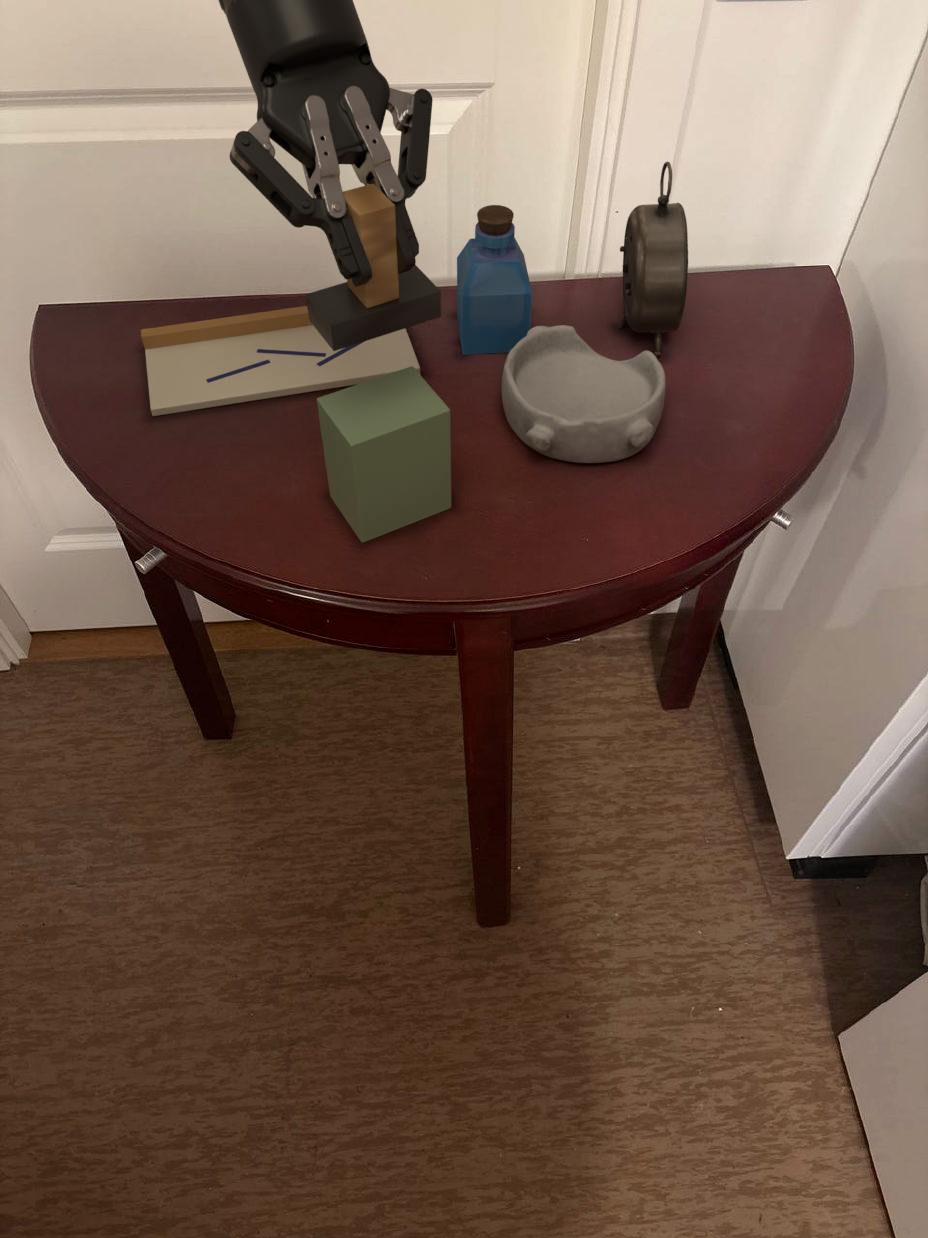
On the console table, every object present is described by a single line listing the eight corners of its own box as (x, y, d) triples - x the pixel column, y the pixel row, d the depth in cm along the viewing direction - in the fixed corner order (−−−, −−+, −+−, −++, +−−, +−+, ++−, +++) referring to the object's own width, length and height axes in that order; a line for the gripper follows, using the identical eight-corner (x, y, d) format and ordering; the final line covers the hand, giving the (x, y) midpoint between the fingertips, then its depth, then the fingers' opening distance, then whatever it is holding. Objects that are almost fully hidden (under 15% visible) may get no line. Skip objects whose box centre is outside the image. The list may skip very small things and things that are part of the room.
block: (361, 543, 79) (350, 445, 71) (329, 496, 82) (315, 398, 74) (451, 508, 81) (450, 409, 73) (417, 463, 84) (412, 365, 77)
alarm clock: (676, 365, 93) (709, 197, 80) (617, 365, 93) (641, 196, 80) (663, 297, 100) (693, 132, 87) (609, 296, 100) (630, 131, 87)
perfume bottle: (462, 354, 94) (462, 235, 84) (457, 315, 98) (456, 197, 88) (528, 351, 94) (535, 232, 85) (520, 312, 98) (526, 194, 89)
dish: (512, 360, 93) (514, 313, 89) (663, 377, 92) (672, 330, 88) (486, 465, 84) (488, 418, 80) (653, 486, 83) (663, 439, 79)
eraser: (333, 351, 66) (320, 230, 59) (308, 319, 68) (293, 199, 61) (441, 316, 68) (439, 196, 62) (414, 287, 70) (409, 168, 64)
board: (152, 416, 88) (146, 396, 86) (146, 349, 94) (140, 329, 92) (420, 374, 92) (419, 354, 90) (397, 312, 98) (396, 292, 96)
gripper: (178, -21, 55) (295, 289, 58) (405, -63, 59) (504, 227, 62) (168, 47, 62) (273, 321, 65) (371, 5, 66) (461, 263, 69)
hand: (385, 274), depth 63 cm, fingers closed on eraser, 2 cm apart
